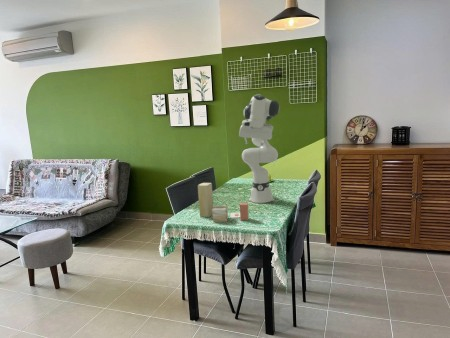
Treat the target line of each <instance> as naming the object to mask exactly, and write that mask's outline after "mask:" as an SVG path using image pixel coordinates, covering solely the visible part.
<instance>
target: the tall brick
mask: <svg viewBox="0 0 450 338" xmlns="http://www.w3.org/2000/svg"><path fill="white" fill-rule="evenodd" d="M239 212H240V221H244V222H246V221H249V203H248V202H240V204H239Z"/></svg>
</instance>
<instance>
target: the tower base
mask: <svg viewBox="0 0 450 338" xmlns="http://www.w3.org/2000/svg"><path fill="white" fill-rule="evenodd" d="M212 214H213V215H212V222H213V223H227V221H228V218H229V214H228V205H213V209H212Z"/></svg>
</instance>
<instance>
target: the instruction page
mask: <svg viewBox="0 0 450 338" xmlns="http://www.w3.org/2000/svg"><path fill="white" fill-rule="evenodd" d="M229 216H230V217H229V218H231V219H236V218H240V211H238V212H230V215H229Z"/></svg>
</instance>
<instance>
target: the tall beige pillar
mask: <svg viewBox="0 0 450 338" xmlns="http://www.w3.org/2000/svg"><path fill="white" fill-rule="evenodd" d="M213 195H214V194H213V183H212V182H202V183H199V184H198V185H197V196H198V207H199V217H201V218H211V216H213V214H212V209H213V208H214V197H213Z"/></svg>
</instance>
